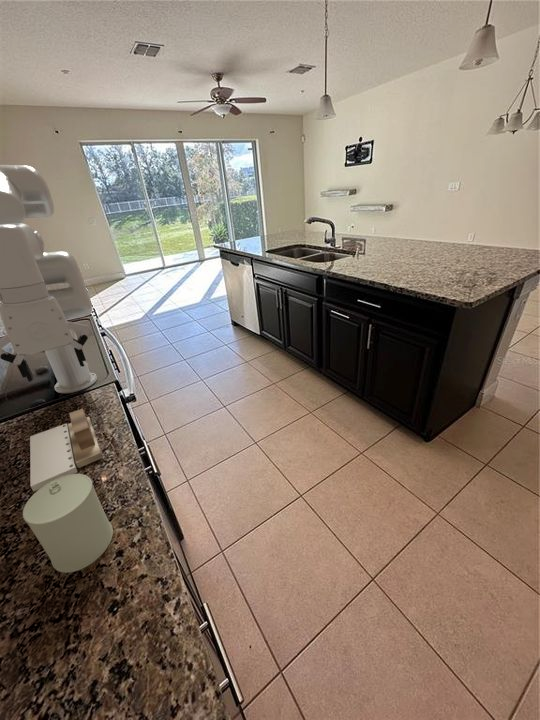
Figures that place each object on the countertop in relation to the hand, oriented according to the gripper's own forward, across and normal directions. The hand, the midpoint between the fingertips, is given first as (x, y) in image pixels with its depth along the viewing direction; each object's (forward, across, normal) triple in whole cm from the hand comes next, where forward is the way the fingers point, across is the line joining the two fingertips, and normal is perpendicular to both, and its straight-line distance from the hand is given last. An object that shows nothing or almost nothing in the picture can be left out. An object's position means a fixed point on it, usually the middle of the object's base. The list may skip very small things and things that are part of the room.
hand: (57, 371), depth 66 cm
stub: (+20, 0, 0) cm, 20 cm away
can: (+20, -4, -29) cm, 36 cm away
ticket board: (+20, -7, 0) cm, 21 cm away
